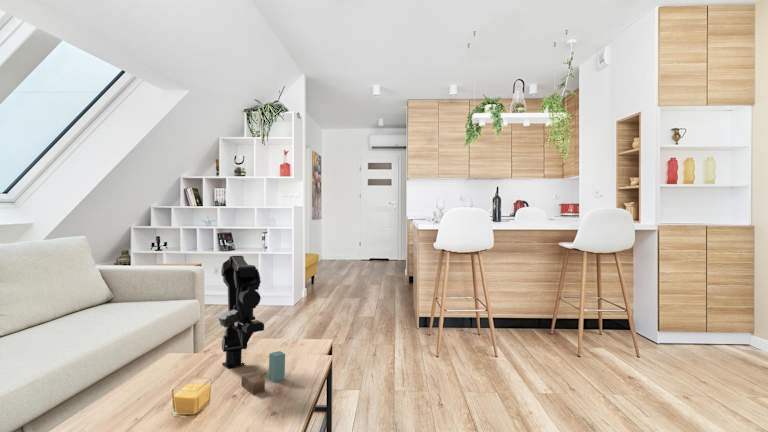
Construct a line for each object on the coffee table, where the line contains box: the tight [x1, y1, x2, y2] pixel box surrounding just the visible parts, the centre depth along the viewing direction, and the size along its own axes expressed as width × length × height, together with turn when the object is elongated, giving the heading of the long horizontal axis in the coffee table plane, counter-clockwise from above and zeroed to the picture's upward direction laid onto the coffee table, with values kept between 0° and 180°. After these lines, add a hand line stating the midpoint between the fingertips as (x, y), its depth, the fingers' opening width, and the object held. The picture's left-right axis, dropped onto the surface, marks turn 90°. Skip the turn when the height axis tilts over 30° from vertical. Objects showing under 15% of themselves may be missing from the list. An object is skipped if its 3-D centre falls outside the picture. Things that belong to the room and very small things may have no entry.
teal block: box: [268, 350, 286, 383], centre depth 143 cm, size 4×4×9 cm
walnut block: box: [240, 371, 266, 396], centre depth 134 cm, size 4×4×9 cm
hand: (243, 346), depth 141 cm, fingers closed
